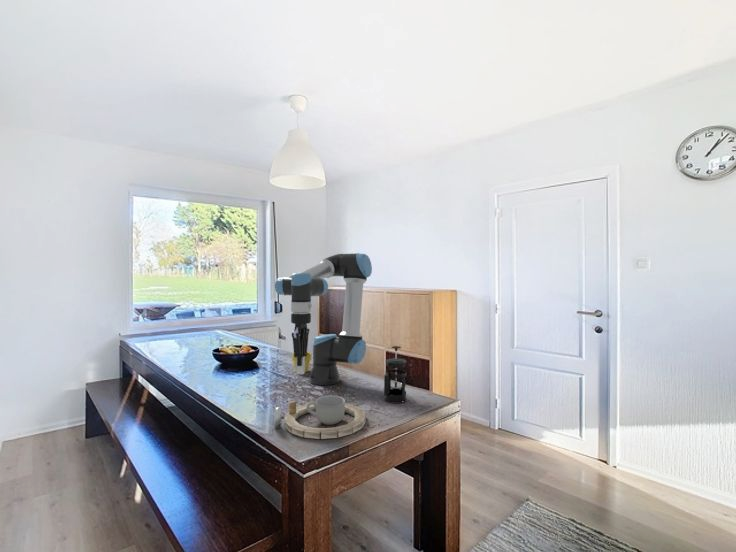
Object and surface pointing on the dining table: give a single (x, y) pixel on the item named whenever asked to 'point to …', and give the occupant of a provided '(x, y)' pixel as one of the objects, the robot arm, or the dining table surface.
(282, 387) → the dining table surface
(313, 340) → the robot arm
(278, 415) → the shiny cylinder
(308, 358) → the plant pot
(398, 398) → the french press
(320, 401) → the teacup
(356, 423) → the ring
